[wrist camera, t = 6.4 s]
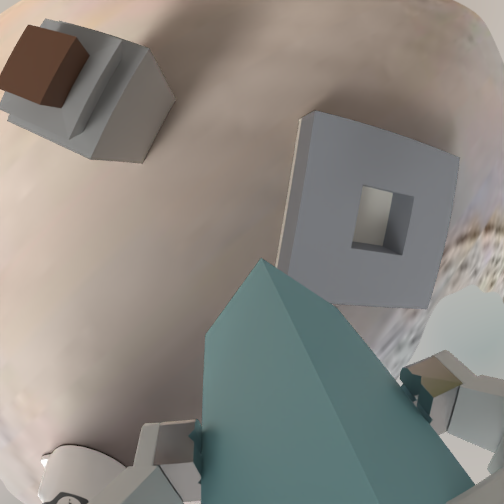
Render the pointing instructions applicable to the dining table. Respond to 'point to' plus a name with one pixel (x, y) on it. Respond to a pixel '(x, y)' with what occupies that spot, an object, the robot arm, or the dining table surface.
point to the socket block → (365, 213)
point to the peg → (309, 409)
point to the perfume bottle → (86, 91)
